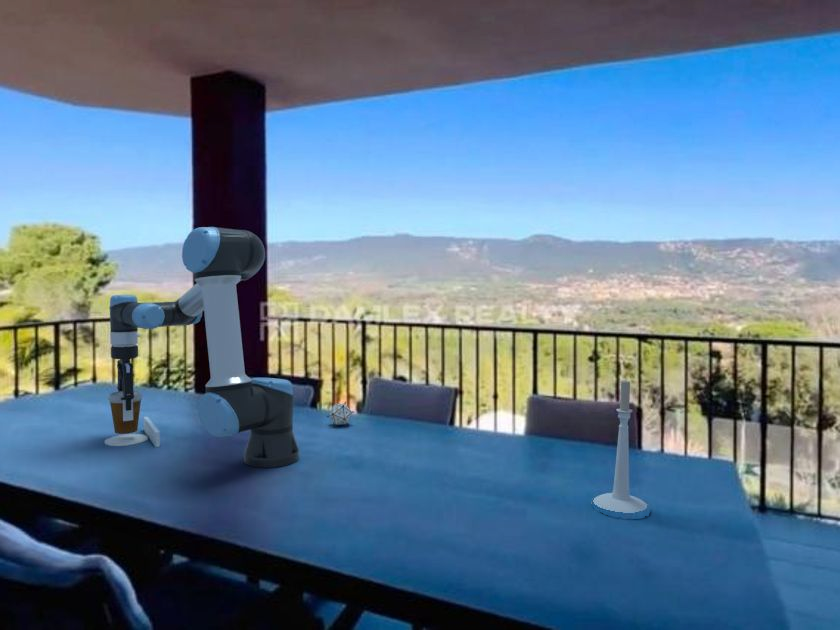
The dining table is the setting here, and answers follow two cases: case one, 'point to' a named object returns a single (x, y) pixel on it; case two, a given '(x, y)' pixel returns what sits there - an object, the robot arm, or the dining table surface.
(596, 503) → the candlestick
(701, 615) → the dining table surface
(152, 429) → the wall
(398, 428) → the dining table surface
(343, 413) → the game die
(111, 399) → the disposable coffee cup
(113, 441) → the coaster
